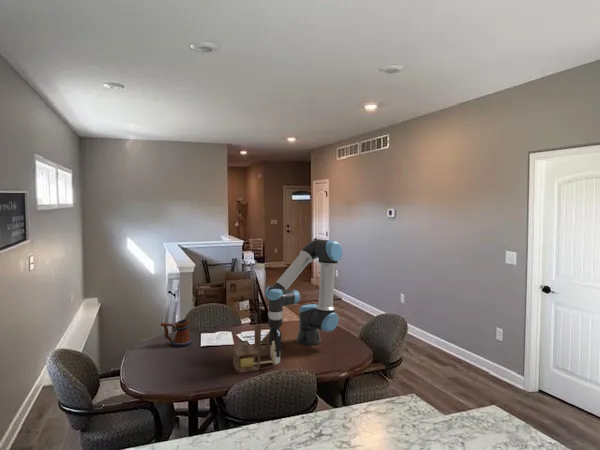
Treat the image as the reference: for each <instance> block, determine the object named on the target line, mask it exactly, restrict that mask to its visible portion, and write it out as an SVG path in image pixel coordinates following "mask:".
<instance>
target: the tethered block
mask: <svg viewBox="0 0 600 450" xmlns="http://www.w3.org/2000/svg"><path fill="white" fill-rule="evenodd" d="M274 350H276V349H275V341H272V357H271V359H270V360H262V361H261V360H260V365H262V364H268V363H269V364H270V363H271V365H272V366H273V365H274V366H276V365H279V363H280V362H279V363H275V351H274ZM251 366H257V361H255V362H254V357H253V356H252V355H251V354H250V355H242V356H240V368H244V367H251Z"/></svg>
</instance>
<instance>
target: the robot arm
mask: <svg viewBox="0 0 600 450" xmlns="http://www.w3.org/2000/svg"><path fill="white" fill-rule="evenodd" d="M342 256H343V247H342V245H341V244H340V243H339V242H338V241H335V240H330V239H329V240H328V239H321V238H320V239H319V238H316V239H313V240H311V241H310V242H309V243H307V244H306V245H305V246H303V248H302V249H301V250H300V251H299V255H298V256H297V257H296V258H295V259H294V261H292V263H291V264H290V266H288V268H286V270H285V271H284V272H283V273H282V275H281V276H280V277H279V278H278V280H277V281H276V282H275V283H274V284H273V285H269V286H267V287H266V288H265V290H264V296H265V298H267V299H268V312H267V316H268V326H269V331H270V337H269V343H270V345H271V355H270V358H272V341H275V349H276V350H274V351H275V363H281V351H282V332H281V329H280V327H282V326H283V317H284V315H283V307H285V306H291V305H294V304H295V305H296V304H298V303H299V302H300V300H301V294H300V292H299V291H298V290H296V289H291V290H288V288H289V287H290V286H291V285H292V284H293V283H294V281H295V280H296V279H297V278H298V276H300V274H301V273H302V272H303V270H304V269H305V268H306V267H308V264H310V263H312V262H313V261H314V260H315V259H318V260H317V261H318V264H319V265H320V272H319V290H318V291H319V292H318V304H315V303H313V304H303V305H301V306H300V307H299V312H298V315H299V317H298V318H299V319H298V321H299V326H298V327H299V328H298V332H297V336H296V341H295V342H296V343H297V344H299V345H303V346H315V345H319V344H320V343H321V335H320V332H319V330H321V331H323V332H329V333H330V332H332V331H334V330H335V329H336V328H337V326H338V324H339V320H340V319H339V315H338V314H337V313H336V308H335V307H334V305H333V304H334V292H335V291H334V290H335V288H334V287H335V273H336V271H335V270H336V266H337V265H338V262H339V261H340V260H341V258H342Z"/></svg>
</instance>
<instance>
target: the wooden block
mask: <svg viewBox="0 0 600 450" xmlns="http://www.w3.org/2000/svg"><path fill="white" fill-rule="evenodd" d="M269 337H270V330H269V331H268V332H267V333H266V334H265V336H264V337H263V338H262V325H261V324H260V323H259V324H258V323H257V324H254V344H256V345H257V346H258V348H259V349H260V350H261V353H260V358H261V357H269V356H270V357H271V345H270V343H269ZM262 345H265V348H263V347H262ZM255 358H257V354H255Z"/></svg>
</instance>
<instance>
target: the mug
mask: <svg viewBox="0 0 600 450" xmlns="http://www.w3.org/2000/svg"><path fill="white" fill-rule="evenodd" d="M189 324H190V319H189V318H188V319H187V318H184V319H183V318H182V319H180V320H177V321H176V322H175V323H174V324H173V323H167V322H166V323H165V322H161V323H160V326H161V327H163V328H164V331H165V333H164V337H165V339H167V340H169V342H167V343H166V345H167V346H173V347H174V348H175V347H176V348H185V347H188V346H191V344H192V342H193V340H192V339H191V337H190V333H189ZM168 327H172V328H171V330H172V332H173V333H174V334H175V337H174V339H172V338H171V337H170V336H169V328H168Z"/></svg>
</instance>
